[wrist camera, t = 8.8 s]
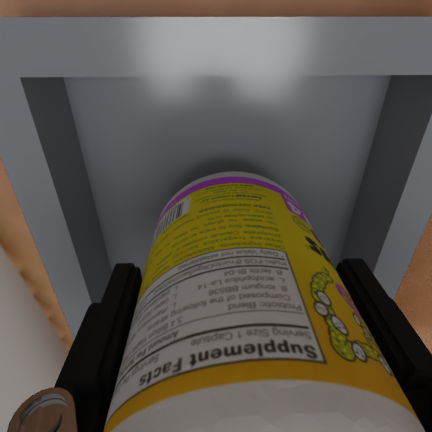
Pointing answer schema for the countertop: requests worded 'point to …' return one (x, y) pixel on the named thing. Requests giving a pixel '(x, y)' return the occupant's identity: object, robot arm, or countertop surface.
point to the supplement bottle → (248, 325)
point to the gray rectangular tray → (214, 131)
